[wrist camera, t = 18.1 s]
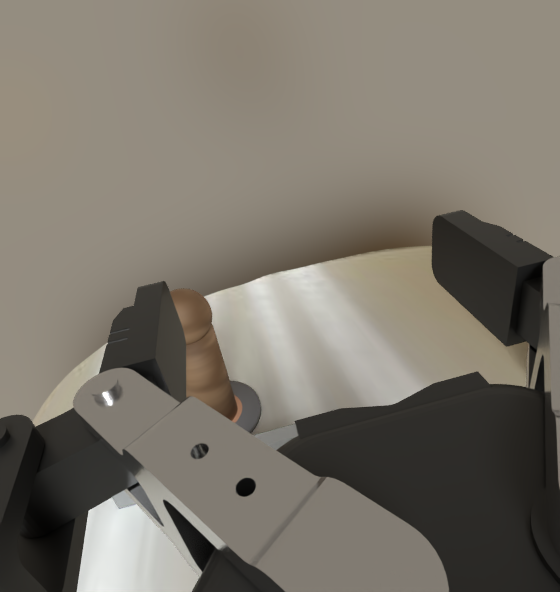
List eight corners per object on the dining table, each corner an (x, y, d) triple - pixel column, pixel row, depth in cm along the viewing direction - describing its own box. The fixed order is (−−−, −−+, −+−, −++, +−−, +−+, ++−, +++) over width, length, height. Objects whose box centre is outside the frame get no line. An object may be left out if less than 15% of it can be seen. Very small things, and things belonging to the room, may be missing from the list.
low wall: (118, 508, 40) (106, 489, 38) (120, 494, 41) (109, 475, 39) (324, 450, 41) (320, 429, 40) (319, 438, 43) (316, 417, 41)
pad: (198, 380, 53) (197, 376, 53) (273, 389, 50) (272, 385, 49) (155, 445, 45) (153, 441, 45) (240, 461, 42) (238, 457, 42)
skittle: (206, 392, 50) (165, 277, 42) (247, 397, 48) (213, 278, 40) (183, 428, 46) (134, 308, 38) (228, 435, 44) (186, 310, 36)
